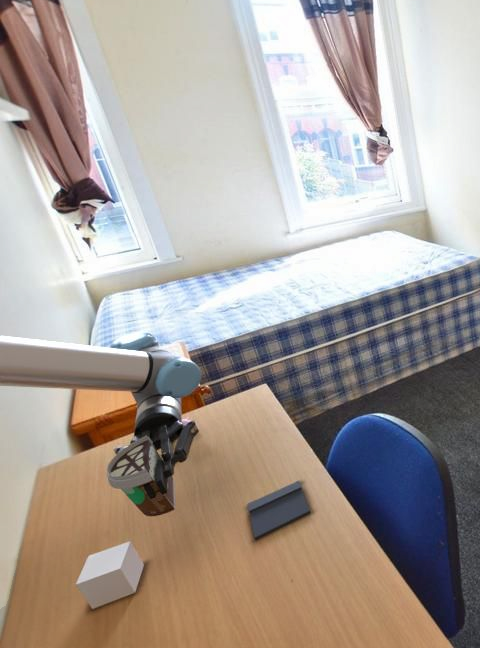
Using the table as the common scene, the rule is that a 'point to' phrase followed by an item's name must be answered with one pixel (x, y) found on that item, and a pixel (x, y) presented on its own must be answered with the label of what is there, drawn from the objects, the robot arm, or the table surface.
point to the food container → (141, 477)
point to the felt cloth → (277, 509)
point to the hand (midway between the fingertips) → (155, 489)
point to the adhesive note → (110, 575)
